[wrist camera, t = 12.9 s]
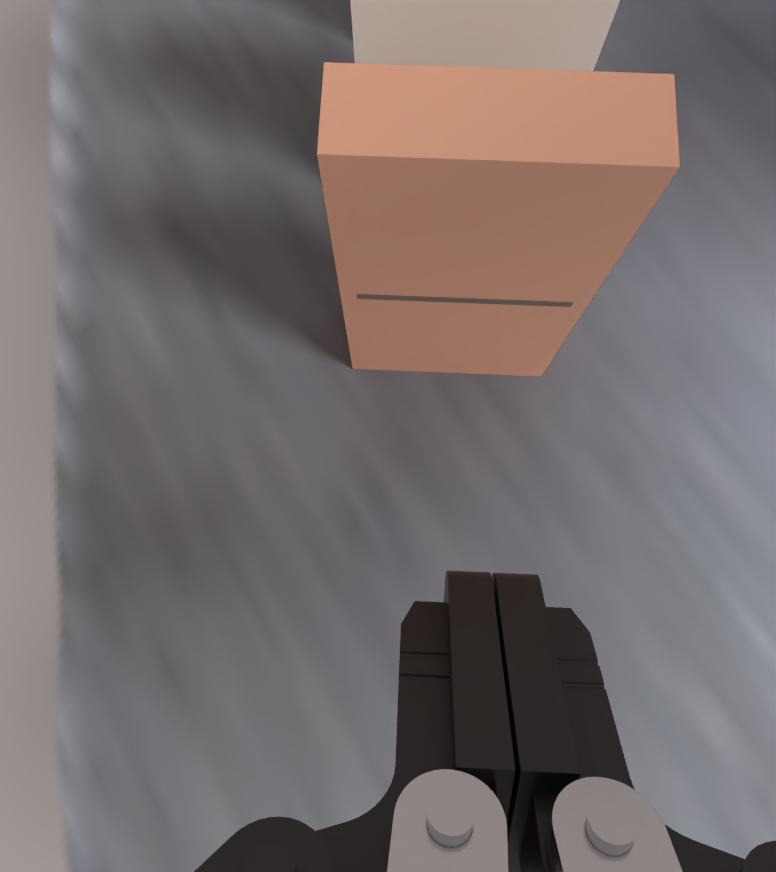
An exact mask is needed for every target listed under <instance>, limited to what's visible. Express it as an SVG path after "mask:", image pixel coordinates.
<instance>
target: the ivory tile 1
mask: <svg viewBox="0 0 776 872" xmlns="http://www.w3.org/2000/svg"><path fill="white" fill-rule="evenodd" d="M350 2H351V16H352V31H353V45H354V60H355V63H360V64H390V65H420V66H450V67H480V68H510V69H540V70H569V71H594V68H595V65H596V63H597V60H598V57H599V55H600V52H601V50H602V47H603V44H604V42H605V39H606V36H607V34H608V31H609V29H610V26H611V23H612V21H613V18H614V15H615V13H616V10H617V8H618V5H619V2H620V0H350Z"/></svg>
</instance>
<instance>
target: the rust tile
mask: <svg viewBox="0 0 776 872" xmlns="http://www.w3.org/2000/svg"><path fill="white" fill-rule="evenodd" d="M317 157H318V163H319V169H320V175H321V181H322V188H323V194H324V200H325V206H326V212H327V218H328V224H329V230H330V236H331V242H332V248H333V254H334V260H335V266H336V272H337V278H338V284H339V290H340V296H341V302H342V308H343V314H344V320H345V326H346V332H347V338H348V344H349V350H350V356H351V362H352V369H365V370H390V371H415V372H440V373H465V374H490V375H515V376H542V374H543V373H544V371H545V370H546V368H547V367H548V365H549V364H550V362H551V361H552V359H553V358H554V356H555V355H556V353H557V352H558V350H559V349H560V347H561V346H562V344H563V343H564V341H565V340H566V338H567V337H568V335H569V334H570V332H571V331H572V329H573V328H574V326H575V325H576V323H577V322H578V320H579V319H580V317H581V316H582V314H583V313H584V311H585V309H586V308H587V306H588V305H589V303H590V302H591V300H592V299H593V297H594V296H595V294H596V293H597V291H598V290H599V288H600V287H601V285H602V284H603V282H604V281H605V279H606V278H607V276H608V275H609V273H610V272H611V270H612V269H613V267H614V266H615V264H616V263H617V261H618V260H619V258H620V257H621V255H622V254H623V252H624V251H625V249H626V248H627V246H628V245H629V243H630V242H631V240H632V238H633V237H634V235H635V234H636V232H637V231H638V229H639V228H640V226H641V225H642V223H643V222H644V220H645V219H646V217H647V216H648V214H649V213H650V211H651V210H652V208H653V207H654V205H655V204H656V202H657V201H658V199H659V198H660V196H661V195H662V193H663V192H664V190H665V189H666V187H667V186H668V184H669V183H670V181H671V180H672V178H673V177H674V175H675V174H676V172H677V171H678V169H679V168H680V162H679V145H678V128H677V112H676V95H675V78H674V74H659V73H629V72H599V71H569V70H540V69H510V68H480V67H450V66H420V65H390V64H360V63H331V62H324V68H323V82H322V95H321V108H320V121H319V134H318V147H317Z"/></svg>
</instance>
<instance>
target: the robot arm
mask: <svg viewBox="0 0 776 872" xmlns="http://www.w3.org/2000/svg"><path fill="white" fill-rule="evenodd" d="M194 872H776V841H771V842H766V843H763V844H761V845H758V846H757V847H755V848H754V849H753V850H752V851H751V852H750V853H749V854H748V856H747V857H746V859H743V858H740V857H737V856H734V855H732V854H729V853H726V852H724V851H721V850H718V849H715V848H713V847H710V846H707V845H705V844H702V843H699V842H697V841H694V840H692V839H689V838H687V837H685V836H682V835H681V834H679V833H677V832H676V831H674V830H672V829H671V828H669V827H668V826H667V825H665V824H664V822H663V820H662V818H661V817H660V815H659V814H658V812H657V811H656V809H655V808H654V807H653V806H652V804H651V803H650V802H649V801H648V800H647V799H646V798H645V797H643V796H642V795H641V794H640V793H639V792H637V791H636V790H635V789H634V787H633V785H632V782H631V779H630V776H629V773H628V769H627V765H626V762H625V758H624V754H623V751H622V747H621V744H620V740H619V736H618V733H617V729H616V725H615V722H614V718H613V714H612V711H611V707H610V703H609V700H608V696H607V693H606V689H604V682H603V678H602V674H601V671H600V667H599V666H598V660H597V656H596V653H595V649H594V645H593V642H592V638H591V634H590V632H589V631H588V630H587V628H586V627H585V626H584V624H583V623H582V622H581V621H580V619H579V618H578V617H577V616H576V614H575V613H574V612H573V611H572V609H571V608H554V607H545V602H544V597H543V592H542V588H541V583H540V579H539V577H538V575H532V574H508V573H493V574H492V577H491V573H489V572H465V571H447V572H446V579H445V593H444V603H443V602H420V601H415V602H414V603H413V605H412V607H411V608H410V610H409V612H408V613H407V615H406V617H405V618H404V620H403V622H402V623H401V639H400V665H399V691H398V717H397V743H396V766H395V773H394V777H393V780H392V783H391V785H390V787H389V789H388V791H387V792H386V794H385V795H384V797H383V798H382V799H381V800H380V801H379V803H378V804H377V805H376V806H375V807H373V808H372V809H371V810H369V811H368V812H367V813H365V814H363V815H362V816H360V817H358V818H356V819H353V820H350V821H348V822H345V823H341V824H338V825H334V826H331V827H328V828H324V829H321V830H317V831H314V830H313V829H312V828H310V827H309V826H308V825H306V824H304V823H302V822H301V821H299V820H295V819H292V818H287V817H269V818H265V819H260V820H257V821H255V822H253V823H250V824H248V825H247V826H245V827H243V828H242V829H240V830H239V831H238V832H236V833H235V834H234V835H233V836H232V837H230V838H229V839H228V840H227V841H226V842H225V843H224V844H223V845H222V846H221V847H220V848H219V849H218V850H217V851H216V852H215V853H213V854H212V855H211V856H210V857H209V858H208V859H207V860H206V861H205V862H204V863H203V864H202V865H201V866H200V867H199V868H198V869H196V870H195V871H194Z"/></svg>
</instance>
